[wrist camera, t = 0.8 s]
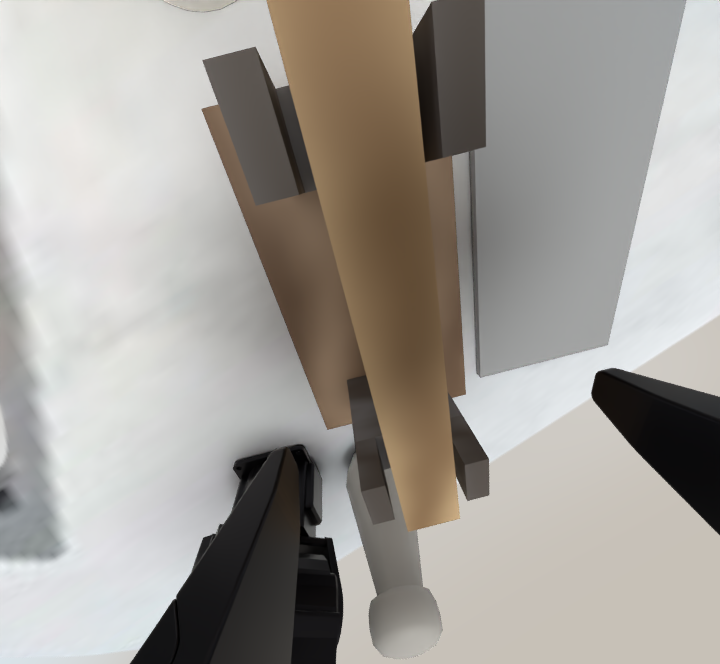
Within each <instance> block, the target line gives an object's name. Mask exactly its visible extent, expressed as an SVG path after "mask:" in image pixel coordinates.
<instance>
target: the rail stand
mask: <svg viewBox="0 0 720 664" xmlns="http://www.w3.org/2000/svg"><path fill="white" fill-rule="evenodd" d="M412 36H413V46H414V56H415V66H416V76H417V87H418V97H419V107H420V117H421V127H422V137H423V148H424V158H425V168H426V178H427V188H428V199H429V209H430V219H431V229H432V239H433V249H434V260H435V270H436V280H437V290H438V300H439V310H440V321H441V331H442V341H443V351H444V361H445V372H446V382H447V392H448V402H449V412H450V422H451V433H452V443H453V453H454V463H455V473H456V477H457V479H458V481H459V484H460V486H461V488H462V490H463V492H464V494H465V496H466V499H467V500H468V501H469V500H473V499H476V498H480V497H484V496H488V495H489V458H488V457H487V455H486V453H485V452H484V450H483V448H482V447H481V445H480V444H479V442H478V440H477V439H476V437H475V435H474V434H473V432H472V430H471V429H470V427H469V426H468V424H467V422H466V421H465V419H464V417H463V416H462V414H461V413H460V411H459V409H458V408H457V406H456V404H455V403H454V401H453V399H452V398H453V397H457V396H461V395H465V394H466V390H465V372H464V355H463V338H462V321H461V304H460V287H459V270H458V253H457V236H456V219H455V202H454V185H453V168H452V156H453V155H457V154H461V153H464V152H468V151H472V150H476V149H480V148H484V147H486V82H485V0H437V1H433V2H431V4H430V6H429V7H428V9H427V11H426V12H425V14H424V16H423V18H422V19H421V21H420V23H419V24H418V26H417V28H416V29H415V31H414V33H413V35H412ZM202 61H203V63H204V66H205V69H206V72H207V74H208V77H209V80H210V82H211V85H212V88H213V91H214V93H215V96H216V99H217V101H218V104H219V105H215V106H211V107H207V108H203V109H202V112H203V114H204V117H205V119H206V122H207V124H208V127H209V129H210V132H211V135H212V137H213V140H214V142H215V145H216V147H217V150H218V152H219V155H220V157H221V160H222V163H223V165H224V168H225V170H226V173H227V175H228V178H229V180H230V183H231V185H232V188H233V191H234V193H235V196H236V198H237V201H238V203H239V206H240V208H241V211H242V213H243V216H244V219H245V221H246V224H247V226H248V229H249V231H250V234H251V236H252V239H253V241H254V244H255V247H256V249H257V252H258V254H259V257H260V259H261V262H262V264H263V267H264V269H265V272H266V275H267V277H268V280H269V282H270V285H271V287H272V290H273V292H274V295H275V297H276V300H277V303H278V305H279V308H280V310H281V313H282V315H283V318H284V320H285V323H286V325H287V328H288V331H289V333H290V336H291V338H292V341H293V343H294V346H295V348H296V351H297V353H298V356H299V359H300V361H301V364H302V366H303V369H304V371H305V374H306V376H307V379H308V381H309V384H310V387H311V389H312V392H313V394H314V397H315V399H316V402H317V404H318V407H319V409H320V412H321V415H322V417H323V420H324V422H325V425H326V427H327V430H329V429H333V428H336V427H340V426H344V425H348V424H352V425H353V433H354V441H355V448H356V456H357V464H358V472H359V480H360V488H361V493H362V496H363V499H364V501H365V504H366V507H367V510H368V512H369V515H370V518H371V521H372V523H373V525H376V524H380V523H383V522H387V521H391V520H395V517H394V513H393V508H392V504H391V499H390V494H389V490H388V485H387V481H386V476H385V472H384V470H386V469H389V468H391V466H390V463H389V459H388V455H387V451H386V448H385V444H384V440H383V436H382V433H381V429H380V425H379V421H378V417H377V414H376V410H375V406H374V402H373V399H372V395H371V391H370V387H369V384H368V380H367V376H366V372H365V369H364V365H363V361H362V357H361V354H360V350H359V346H358V342H357V339H356V335H355V331H354V327H353V323H352V320H351V316H350V312H349V308H348V305H347V301H346V297H345V293H344V290H343V286H342V282H341V278H340V275H339V271H338V267H337V263H336V260H335V256H334V252H333V248H332V245H331V241H330V237H329V233H328V230H327V226H326V222H325V218H324V214H323V211H322V207H321V203H320V199H319V196H318V192H317V188H316V184H315V181H314V177H313V173H312V169H311V166H310V162H309V158H308V154H307V151H306V147H305V143H304V139H303V136H302V132H301V128H300V124H299V120H298V117H297V113H296V109H295V105H294V102H293V98H292V94H291V90H290V87H289V86H285V87H281V88H277V89H275V87H274V85H273V83H272V81H271V78H270V76H269V74H268V72H267V70H266V68H265V66H264V64H263V62H262V60H261V58H260V55H259V53H258V51H257V49H256V47H253V48H249V49H245V50H241V51H237V52H233V53H229V54H225V55H221V56H217V57H213V58H210V59H206V60H202Z"/></svg>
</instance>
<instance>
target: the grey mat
mask: <svg viewBox="0 0 720 664" xmlns="http://www.w3.org/2000/svg"><path fill="white" fill-rule="evenodd" d="M685 4H686V0H485V82H486V147H484V148H480V149H476V150H472V151H470V173H471V204H472V235H473V266H474V296H475V327H476V358H477V374H478V375H479V377H480V378H481V377H485V376H489V375H493V374H497V373H501V372H505V371H509V370H513V369H516V368H520V367H524V366H528V365H532V364H536V363H540V362H544V361H548V360H552V359H555V358H559V357H563V356H567V355H571V354H575V353H579V352H583V351H587V350H591V349H594V348H598V347H602V346H606V345H608V342H609V337H610V333H611V329H612V324H613V320H614V315H615V311H616V307H617V302H618V298H619V293H620V289H621V285H622V280H623V276H624V272H625V267H626V263H627V258H628V254H629V250H630V245H631V241H632V237H633V232H634V228H635V223H636V219H637V215H638V210H639V206H640V201H641V197H642V193H643V188H644V184H645V180H646V175H647V171H648V166H649V162H650V158H651V153H652V149H653V145H654V140H655V136H656V131H657V127H658V123H659V118H660V114H661V110H662V105H663V101H664V96H665V92H666V88H667V83H668V79H669V74H670V70H671V66H672V61H673V57H674V53H675V48H676V44H677V39H678V35H679V31H680V26H681V22H682V18H683V13H684V9H685Z"/></svg>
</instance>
